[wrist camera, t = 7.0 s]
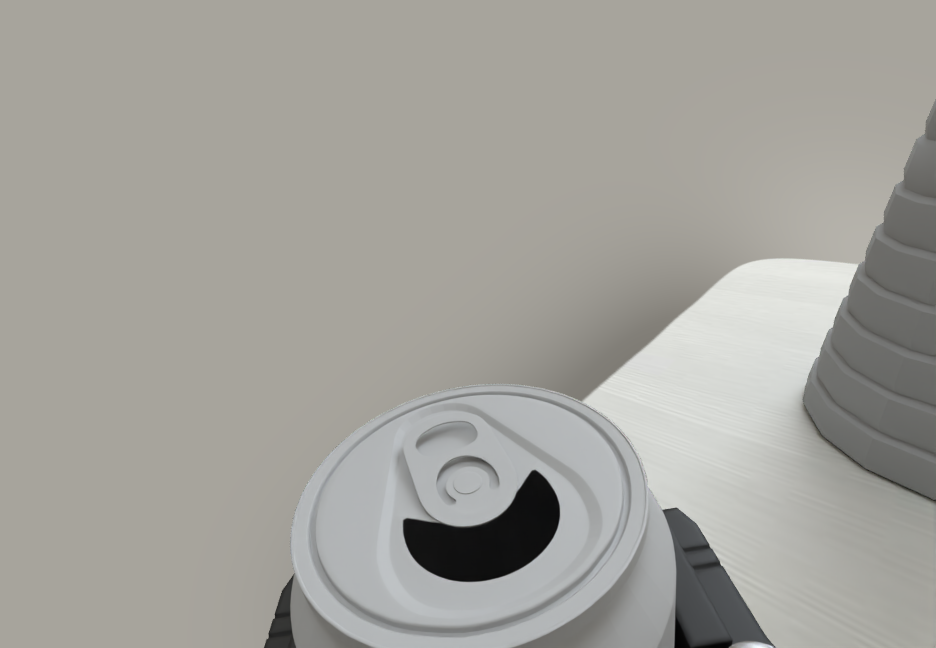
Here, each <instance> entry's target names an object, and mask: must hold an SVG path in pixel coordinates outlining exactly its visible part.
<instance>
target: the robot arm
mask: <svg viewBox="0 0 936 648" xmlns="http://www.w3.org/2000/svg"><path fill="white" fill-rule="evenodd" d="M662 511H663V513H664V515H665V518H666V520H667V523H668V526H669V529H670V532H671V536H672V540H673V545H674V552H675V561H676V604H675V641H674V648H776V647H775V646H774V645H773V644H772V643H771V642H770V640H769V639H768V638H767V637H766V635H765V634H764V632H763V631H762V629H761V628H760V626H759V624H758V623H757V621H756V620H755V618H754V616H753V615H752V613H751V611H750V610H749V608H748V607H747V605H746V603H745V602H744V600H743V598H742V597H741V595H740V594H739V592H738V590H737V589H736V587H735V586H734V584H733V582H732V581H731V579H730V577H729V576H728V574H727V573H726V571H725V569H724V568H723V566H721V565H720V561H719V560H718V558H717V556H716V555H715V553H714V551H713V550H712V549H711V548H710V546H709V543H708V542H707V540H706V538H705V537H704V535H703V534H702V532H701V530H700V529H699V527H698V525H697V524H696V523H695V522H694V521H692V520H691V519H690V518H689V517H688V516H686V515H685V514H684V513H683V512H681V511H680V510H679V509H678V508H671V509H665V510H662ZM294 574H295V573H294ZM293 578H294V575H293V576H292V578H291V579H290V580H289V582H288V583H287V585H286V586H285V588H284V589H283V591H282V593H281V596H280V599H279V602H278V606H277V609H276V612H275V619H273V621H272V624H271V628H270V631H269V638H268V639H267V640H266V643H265V647H264V648H296V645H295V642H294V638H293V633H292V624H291V610H290V604H291V591H292V585H293Z"/></svg>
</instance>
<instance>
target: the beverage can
mask: <svg viewBox="0 0 936 648" xmlns="http://www.w3.org/2000/svg"><path fill="white" fill-rule="evenodd" d="M290 551H291V559H292V565H293V569H294V572H295V574H294V578H293V585H292V591H291V604H290V610H291V624H292V633H293V638H294V642H295V645H296V648H674V641H675V604H676V561H675V552H674V545H673V540H672V536H671V532H670V529H669V526H668V523H667V520H666V518H665V515H664V513H663V511H662V509H661V507H660V505H659V503H658V502H657V500H656V498H655V497H654V495H653V493H652V492H651V490H650V489H649V487H648V481H647V477H646V473H645V470H644V467H643V464H642V461H641V458H640V456H639V455H638V453H637V451H636V449H635V448H634V446H633V444H632V443H631V441H630V440H629V439H628V437H627V436H626V435H625V434H624V433H623V432H622V431H621V430H620V428H619V427H618V426H617V425H616V424H615V423H614V422H612V421H611V420H610V419H608V418H607V417H606V416H605V415H603V414H602V413H600V412H599V411H597V410H596V409H594V408H592V407H591V406H589V405H587V404H585V403H583V402H581V401H579V400H577V399H574V398H572V397H569V396H567V395H564V394H561V393H558V392H554V391H551V390H547V389H542V388H537V387H531V386H524V385H513V384H484V385H472V386H464V387H458V388H452V389H447V390H443V391H439V392H435V393H432V394H428V395H425V396H422V397H419V398H416V399H413V400H411V401H408V402H405V403H403V404H401V405H399V406H396V407H394V408H392V409H390V410H388V411H386V412H384V413H382V414H380V415H379V416H377V417H375V418H374V419H372V420H371V421H369V422H367V423H366V424H364V425H363V426H361V427H360V428H359V429H357V430H356V431H355V432H353V433H352V434H351V435H349V436H348V437H347V438H346V439H345V440H343V441H342V442H341V443H340V444H339V445H338V446H337V447H336V448H335V449H334V450H333V451H332V452H331V453H330V454H329V455H328V456H327V457H326V458H325V460H324V461H323V462H322V463H321V464H320V466H319V467H318V468H317V470H316V471H315V472H314V474H313V475H312V477H311V478H310V480H309V482H308V483H307V485H306V487H305V489H304V491H303V493H302V495H301V497H300V500H299V502H298V505H297V507H296V510H295V514H294V517H293V522H292V528H291V537H290Z"/></svg>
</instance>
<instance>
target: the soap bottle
mask: <svg viewBox="0 0 936 648" xmlns="http://www.w3.org/2000/svg"><path fill="white" fill-rule="evenodd" d="M803 402H804V404H805V407H806V409H807V411H808V412H809V414H810V416H811V417H812V419H813V421H814V423H815V424H816V426H817V428H818V429H819V431H820V433H821V434H822V436H823V437H824V438H826V439H827V440H828V441H830V442H831V443H832V444H834V445H835V446H836V447H838V448H839V449H840V450H842V451H843V452H844V453H846V454H847V455H848V456H849V457H851V458H852V459H853V460H855V461H856V462H857V463H859V464H860V465H861V466H863V467H864V468H865V469H867V470H870V471H872V472H874V473H876V474H878V475H881V476H883V477H885V478H887V479H889V480H891V481H894V482H896V483H898V484H900V485H902V486H905V487H907V488H909V489H911V490H913V491H916V492H918V493H920V494H922V495H924V496H926V497H929V498H931V499H933V500H936V100H935V102H934V104H933V107H932V109H931V111H930V114H929V116H928V118H927V120H926V130H925V134H924V135H922V136H921V137H919V138H918V139H916V142H915V144H914V146H913V149H912V151H911V154H910V156H909V158H908V161H907V163H906V166H905V168H904V181H902V182H900V183H898V184H896V185H895V187H894V190H893V192H892V195H891V197H890V200H889V202H888V204H887V206H886V209H885V211H884V223H882V224H880V225H878V226H876V229H875V231H874V233H873V236H872V238H871V241H870V243H869V245H868V248H867V250H866V257H865V261H864V262H862V263H860V264H859V266H858V268H857V270H856V273H855V275H854V277H853V280H852V282H851V285H850V288H849V294H848V296H847V297H845V298H843V300H842V303H841V305H840V308H839V310H838V312H837V315H836V317H835V320H834V325H833V328H831V329H829V331H828V333H827V335H826V338H825V340H824V343H823V345H822V347H821V351H820V355H819V357H818V358H816V359H815V361H814V364H813V366H812V368H811V371H810V373H809V376H808V379H807V383H806V388H805V392H804V396H803Z"/></svg>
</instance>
